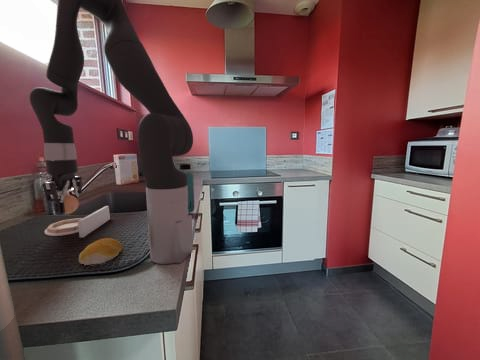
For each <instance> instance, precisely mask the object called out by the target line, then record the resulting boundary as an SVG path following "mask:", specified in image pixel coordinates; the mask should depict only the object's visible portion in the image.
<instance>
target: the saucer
mask: <svg viewBox="0 0 480 360" xmlns="http://www.w3.org/2000/svg"><path fill="white" fill-rule="evenodd" d="M83 218H84V217H79V218H78V217H77V218H70V219H69V218H68V219H63V220H60V221H57V222H54V223H51V224H49V225H48V226H47V227H46V229H45V230H44V234H45V235H47V236H49V237H50V236H51V237H58V236H68V235H72V234H77V233H79V228H78V221H79V220H81V219H83Z"/></svg>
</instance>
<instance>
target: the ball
mask: <svg viewBox="0 0 480 360" xmlns="http://www.w3.org/2000/svg"><path fill="white" fill-rule="evenodd" d="M63 202H64V208H65V214H66V215H67V214H71V213H74V212H75V211H76V210H77V209H78V208H79V205H80V201H79V199H78V200H77V198H76V197H74V196H72V195H68V194H66V195H65V196H64V200H63ZM65 214H64V215H65Z"/></svg>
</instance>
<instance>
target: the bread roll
mask: <svg viewBox="0 0 480 360" xmlns="http://www.w3.org/2000/svg"><path fill="white" fill-rule="evenodd" d="M122 250H123V245H122V243H121V242H120V241H119V240H117V239H115V238H112V237H111V238H110V237H106V238H100V239H97V240H95V241H93V242H92V243H90V244H88V245H87V246H86V247H85V248H84V249H83V250H82V251H81V252H80V253H79V255H78V262H79V264H81V265H82V264H84V265H83V266H86V265H89V264H96V263H102V262H106V261H108V260H111V259H113V258H114V257H116V256H117V257H118V255H119V254H120V253H121V252H122ZM119 252H120V253H119ZM117 257H116V258H117ZM113 260H114V259H113ZM111 261H112V260H111Z"/></svg>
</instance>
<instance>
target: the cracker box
mask: <svg viewBox="0 0 480 360" xmlns="http://www.w3.org/2000/svg"><path fill="white" fill-rule="evenodd" d="M114 163H116V165H117V168H115V167H114V174H115V182H116V183H115V184H116V185H117V186H124V185H130V184H137V183H139V182H140V179H139V170H138V169H139V168H138V155H137V153H126V154H125V153H122V154H120V153H119V154H113V164H114Z"/></svg>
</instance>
